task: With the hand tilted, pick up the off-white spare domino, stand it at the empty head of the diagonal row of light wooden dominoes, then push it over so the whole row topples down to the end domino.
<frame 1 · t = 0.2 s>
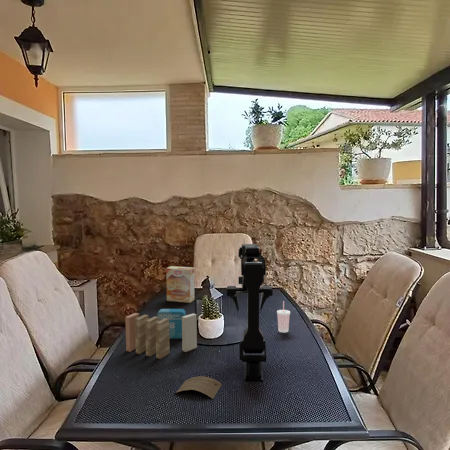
hand: (249, 311, 162), 14 cm above the table, tool pointing down, fingers open, 9 cm apart
data package: (171, 337, 173), on the table
domino 3: (152, 353, 156), on the table
curved brown sheet: (198, 391, 128), on the table
domino 2: (163, 355, 153), on the table
end domino: (133, 348, 160), on the table
domino 4: (142, 350, 158), on the table
beverage cup: (283, 331, 180), on the table
coffeecake box: (180, 300, 230), on the table
spare domino: (189, 349, 159), on the table
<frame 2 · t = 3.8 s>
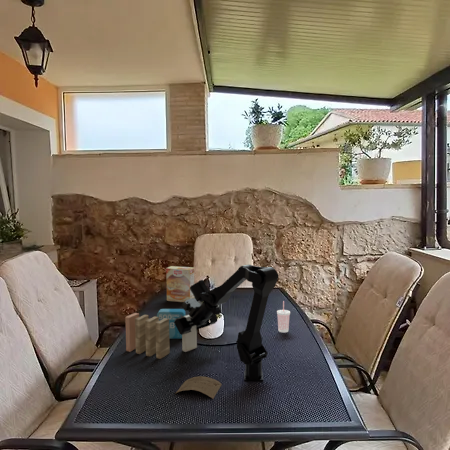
hand: (187, 331, 160), 7 cm above the table, tool tilted 45°, fingers closed on spare domino, 6 cm apart
spare domino: (189, 349, 159), on the table, touching gripper
everything else where it was.
when the fingers open (7 cm above the table, at t = 8.6 s): spare domino stays where it is, on the table.
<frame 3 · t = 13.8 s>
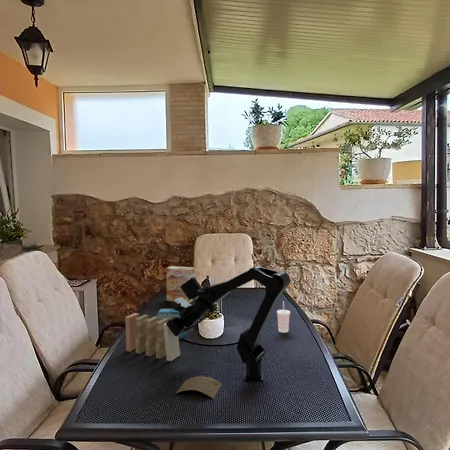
hand: (173, 333, 150), 10 cm above the table, tool tilted 45°, fingers closed
spare domino: (173, 357, 151), on the table, tilted 6°
everything else where it was.
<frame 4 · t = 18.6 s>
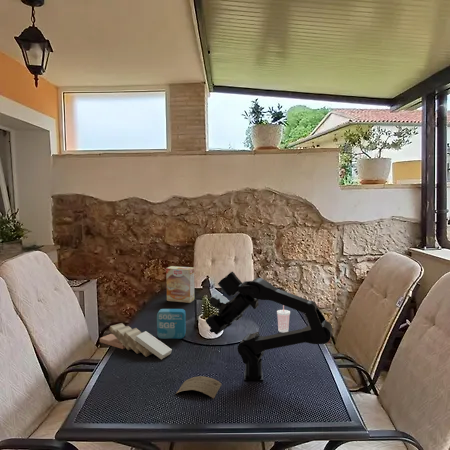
hand: (210, 331, 142), 14 cm above the table, tool tilted 45°, fingers closed
domino 3: (143, 349, 157), point 1 cm above the table, tilted 67°, touching domino 2, domino 4
domino 2: (152, 352, 154), point 1 cm above the table, tilted 67°, touching domino 3
end domino: (128, 344, 162), point 1 cm above the table, tilted 90°, touching domino 4
domino 4: (134, 346, 160), point 1 cm above the table, tilted 67°, touching domino 3, end domino
spare domino: (166, 354, 152), point 1 cm above the table, tilted 68°
everything else where it was.
at the end: spare domino inside the target area (2.8 cm from its centre), point 0.9 cm above the table; spare domino tilted 68°; end domino tilted 90° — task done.
